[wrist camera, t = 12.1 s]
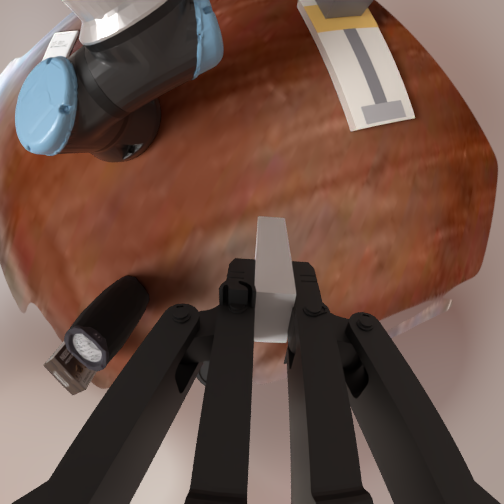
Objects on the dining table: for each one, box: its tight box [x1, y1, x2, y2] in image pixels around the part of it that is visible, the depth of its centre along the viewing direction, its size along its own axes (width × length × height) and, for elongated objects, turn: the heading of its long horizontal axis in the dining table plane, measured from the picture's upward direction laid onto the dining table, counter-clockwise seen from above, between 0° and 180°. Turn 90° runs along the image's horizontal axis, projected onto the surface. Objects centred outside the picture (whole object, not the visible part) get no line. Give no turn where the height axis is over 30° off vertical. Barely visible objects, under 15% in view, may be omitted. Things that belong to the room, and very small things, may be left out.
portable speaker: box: [64, 276, 149, 371], centre depth 42 cm, size 9×9×20 cm
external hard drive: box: [42, 31, 80, 61], centre depth 35 cm, size 2×8×12 cm
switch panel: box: [297, 0, 415, 132], centre depth 35 cm, size 26×12×3 cm, turn 19°
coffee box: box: [44, 342, 97, 395], centre depth 48 cm, size 9×6×16 cm
